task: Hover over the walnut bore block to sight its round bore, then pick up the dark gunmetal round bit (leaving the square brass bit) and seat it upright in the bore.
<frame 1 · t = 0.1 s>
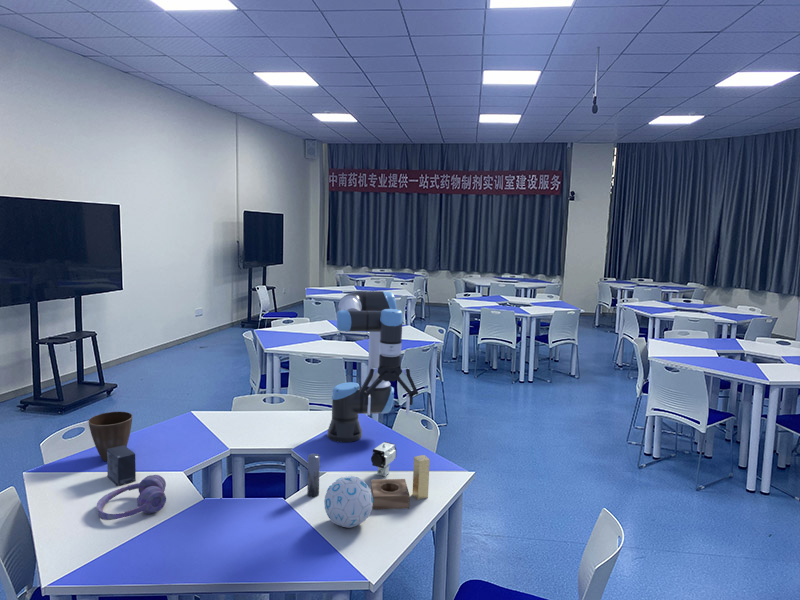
hand: (388, 413, 191), 28 cm above the table, fingers open, 13 cm apart
puzzle ball: (348, 524, 172), on the table
small box: (122, 479, 195), on the table
plant pot: (112, 458, 212), on the table
round bit: (313, 494, 189), on the table
square bit: (420, 496, 191), on the table
headphones: (132, 509, 176), on the table
pneumatic valve: (384, 475, 206), on the table
bore block: (389, 499, 188), on the table
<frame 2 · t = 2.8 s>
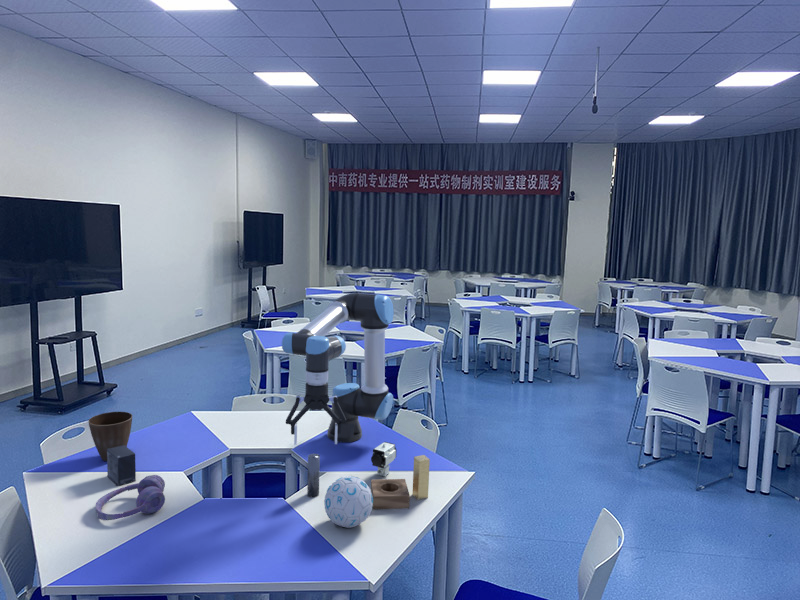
hand: (315, 442, 187), 19 cm above the table, fingers open, 13 cm apart
nothing on the table moved.
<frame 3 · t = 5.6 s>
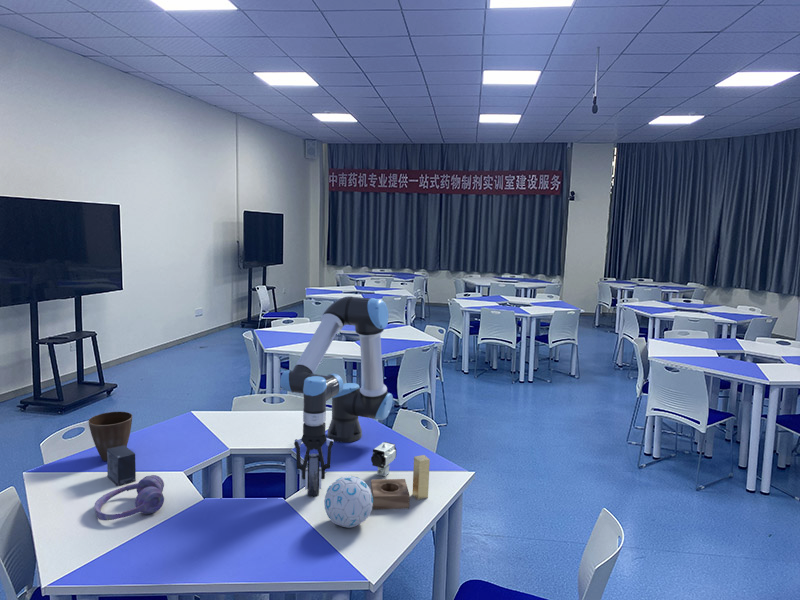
hand: (313, 487, 189), 3 cm above the table, fingers closed on round bit, 4 cm apart
round bit: (313, 494, 189), on the table, touching gripper
everything else where it was.
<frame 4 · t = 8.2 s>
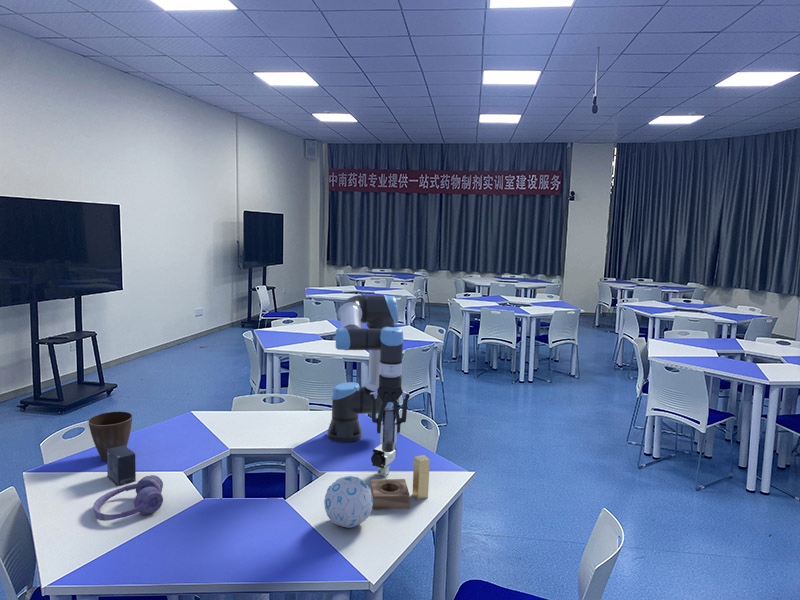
hand: (388, 441, 185), 21 cm above the table, fingers closed on round bit, 4 cm apart
round bit: (387, 449, 185), point 18 cm above the table, touching gripper
everything else where it was.
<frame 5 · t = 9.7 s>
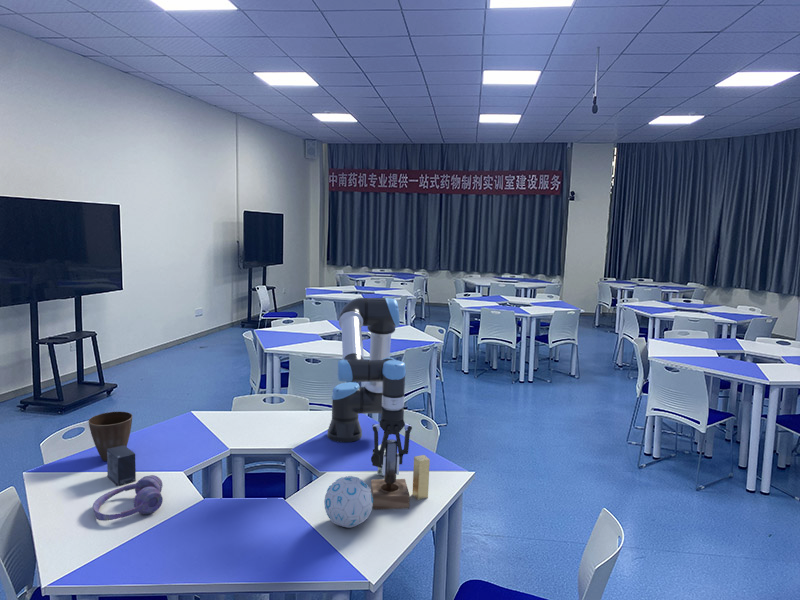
hand: (390, 473, 186), 10 cm above the table, fingers closed on round bit, 4 cm apart
round bit: (390, 480, 187), point 7 cm above the table, touching gripper
when the fingers open (6 cm above the table, at t = 11.1 s): round bit drops 2 cm, resting on bore block.
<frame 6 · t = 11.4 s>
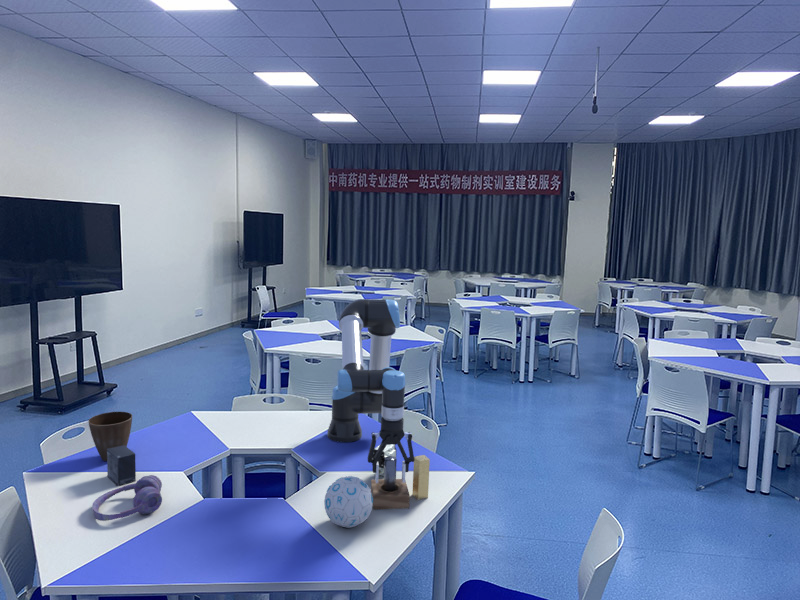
hand: (390, 480, 187), 7 cm above the table, fingers open, 8 cm apart
round bit: (389, 496, 187), point 1 cm above the table, touching bore block
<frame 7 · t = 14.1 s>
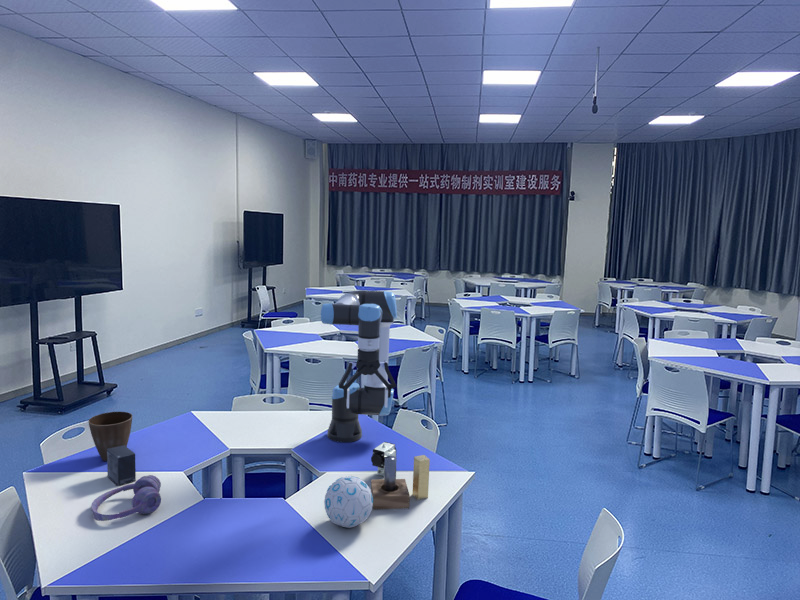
hand: (366, 406, 194), 29 cm above the table, fingers open, 13 cm apart
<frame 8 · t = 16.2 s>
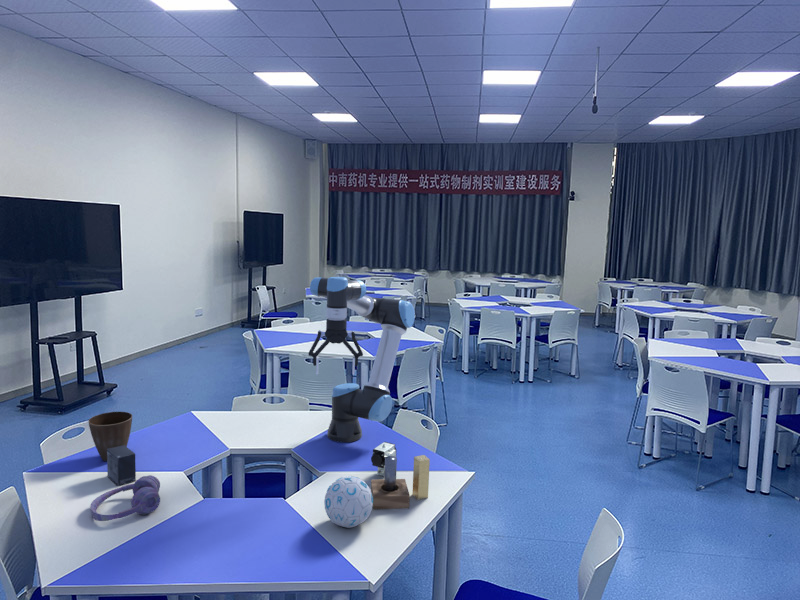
hand: (335, 374, 207), 37 cm above the table, fingers open, 13 cm apart
at the end: round bit 0.0 cm off-centre on the bore block, point 1.0 cm above the bore block's base; round bit tilted 0°; the gripper is holding nothing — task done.
